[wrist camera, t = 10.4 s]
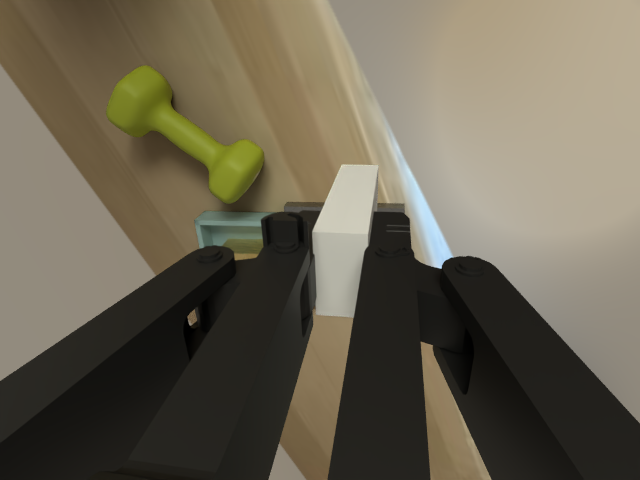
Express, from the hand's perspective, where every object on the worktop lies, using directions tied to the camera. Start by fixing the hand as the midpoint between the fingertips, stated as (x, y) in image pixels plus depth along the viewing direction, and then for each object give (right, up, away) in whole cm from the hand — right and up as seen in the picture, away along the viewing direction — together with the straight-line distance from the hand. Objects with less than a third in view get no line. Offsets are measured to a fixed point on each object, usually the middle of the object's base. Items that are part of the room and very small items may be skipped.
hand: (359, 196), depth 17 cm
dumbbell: (-15, +11, +31) cm, 36 cm away
